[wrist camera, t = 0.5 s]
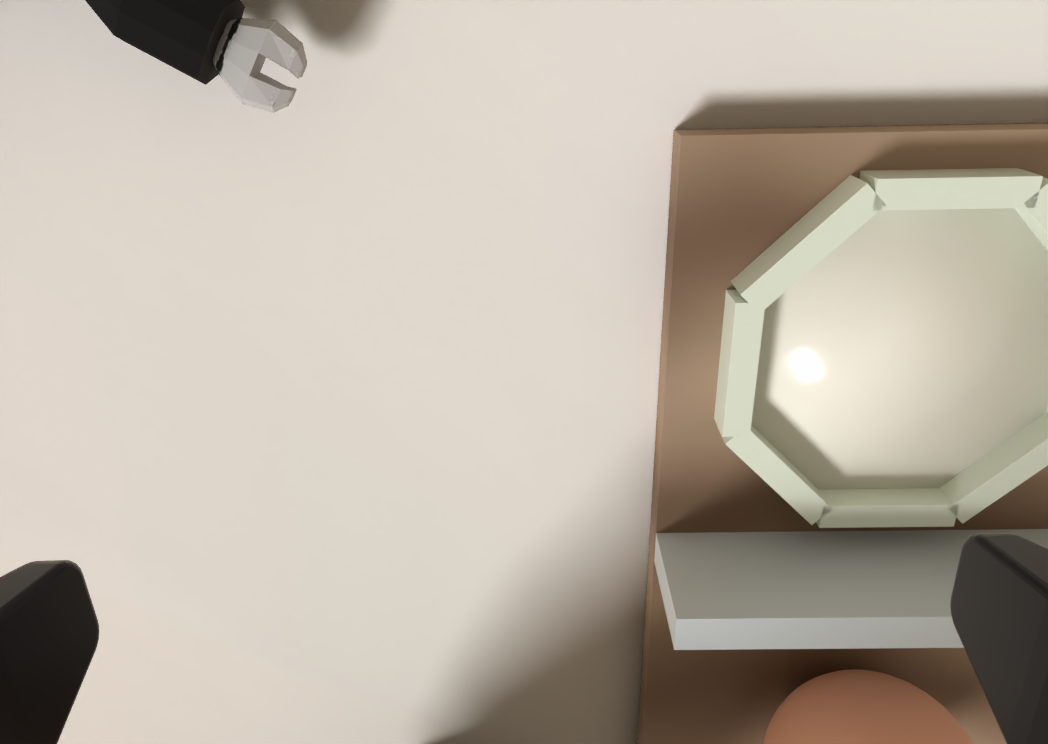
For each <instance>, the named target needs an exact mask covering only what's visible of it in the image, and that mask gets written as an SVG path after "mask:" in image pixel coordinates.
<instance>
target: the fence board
mask: <svg viewBox="0 0 1048 744" xmlns="http://www.w3.org/2000/svg"><path fill="white" fill-rule="evenodd" d="M982 168H1019V169H1023V170H1026V171H1029V172H1032V173H1035V174H1038V175H1041V176H1043V177H1044V178H1047V179H1048V123H1028V124H972V125H917V126H862V127H806V128H751V129H695V130H674V135H673V152H672V169H671V186H670V203H669V219H668V236H667V253H666V270H665V287H664V304H663V321H662V338H661V355H660V372H659V388H658V405H657V422H656V439H655V456H654V473H653V490H652V507H651V524H650V541H649V557H648V574H647V591H646V608H645V625H644V642H643V659H642V676H641V693H640V710H639V726H638V743H637V744H763V742H764V738H765V734H766V730H767V728H768V726H769V723H770V721H771V719H772V717H773V715H774V713H775V712H776V710H777V709H778V707H779V706H780V705H781V703H782V702H783V701H784V700H785V699H786V698H787V696H788V695H789V694H791V693H792V692H793V691H794V690H795V689H796V688H798V687H799V686H800V685H802V684H804V683H805V682H807V681H809V680H811V679H813V678H815V677H818V676H821V675H823V674H826V673H831V672H835V671H841V670H852V669H857V670H868V671H875V672H881V673H884V674H888V675H891V676H894V677H896V678H899V679H901V680H904V681H906V682H909V683H910V684H912V685H914V686H916V687H918V688H919V689H921V690H923V691H924V692H926V693H927V694H929V695H930V696H931V697H933V698H934V699H935V700H936V701H938V702H939V703H940V704H941V705H943V706H944V707H945V708H946V709H947V710H948V711H949V712H950V713H951V715H952V716H953V717H954V718H955V719H956V720H957V721H958V722H959V723H960V724H961V726H962V727H963V729H964V730H965V731H966V733H967V734H968V736H969V737H970V739H971V740H972V742H973V744H1007V743H1006V741H1005V739H1004V736H1003V734H1002V732H1001V730H1000V727H999V725H998V723H997V721H996V718H995V716H994V714H993V712H992V709H991V707H990V705H989V703H988V700H987V698H986V696H985V694H984V691H983V689H982V687H981V685H980V682H979V680H978V678H977V676H976V673H975V671H974V669H973V667H972V664H971V662H970V660H969V658H968V655H967V653H966V651H965V649H964V646H963V644H962V642H961V640H960V637H959V635H958V633H957V631H956V628H955V626H954V623H953V620H952V616H951V609H950V602H951V595H952V590H953V586H954V581H955V577H956V572H957V568H958V563H959V559H960V554H961V550H962V547H963V544H964V542H965V540H966V539H967V538H968V537H969V536H971V535H973V534H985V533H1012V534H1016V535H1019V536H1021V537H1023V538H1025V539H1027V540H1030V541H1032V542H1034V543H1036V544H1038V545H1040V546H1043V547H1045V548H1047V549H1048V466H1046V467H1045V468H1043V469H1042V470H1040V471H1039V472H1037V473H1036V474H1034V475H1033V476H1031V477H1030V478H1029V479H1027V480H1026V481H1024V482H1023V483H1021V484H1020V485H1018V486H1017V487H1015V488H1014V489H1013V490H1011V491H1010V492H1008V493H1007V494H1005V495H1004V496H1002V497H1001V498H999V499H998V500H996V501H995V502H994V503H992V504H991V505H989V506H988V507H986V508H985V509H983V510H982V511H980V512H979V513H977V514H976V515H975V516H973V517H972V518H970V519H969V520H967V521H966V522H964V523H963V524H962V523H961V522H960V520H959V519H958V518H957V517H956V520H955V524H954V527H858V528H819V527H818V525H817V523H816V522H815V523H814V524H813V525H811V524H810V523H809V522H808V521H807V520H806V519H804V518H803V517H802V516H801V515H800V514H799V513H798V512H797V511H796V510H795V509H794V508H793V507H792V506H791V505H790V504H788V503H787V502H786V501H785V500H784V499H783V498H782V497H781V496H780V495H779V494H778V493H777V492H776V491H775V490H774V489H772V488H771V487H770V486H769V485H768V484H767V483H766V482H765V481H764V480H763V479H762V478H761V477H760V476H759V475H758V474H756V473H755V472H754V471H753V470H752V469H751V468H750V467H749V466H748V465H747V464H746V463H745V462H744V461H743V460H742V459H740V458H739V457H738V456H737V455H736V454H735V453H734V452H733V451H732V450H731V449H730V448H729V447H728V446H727V445H726V444H725V443H724V441H723V438H722V436H721V434H720V432H719V429H718V427H717V424H716V422H715V419H714V413H715V402H716V392H717V381H718V370H719V359H720V349H721V338H722V327H723V317H724V306H725V295H726V290H737V289H736V288H735V287H734V285H733V284H732V283H731V280H733V279H734V278H735V277H736V276H737V275H738V274H739V273H740V272H742V271H743V270H744V269H745V268H746V267H747V266H748V265H749V264H751V263H752V262H753V261H754V260H755V259H756V258H757V257H758V256H760V255H761V254H762V253H763V252H764V251H765V250H766V249H767V248H769V247H770V246H771V245H772V244H773V243H774V242H775V241H776V240H778V239H779V238H780V237H781V236H782V235H783V234H784V233H785V232H787V231H788V230H789V229H790V228H791V227H792V226H793V225H794V224H796V223H797V222H798V221H799V220H800V219H801V218H802V217H804V216H805V215H806V214H807V213H808V212H809V211H810V210H811V209H813V208H814V207H815V206H816V205H817V204H818V203H819V202H820V201H822V200H823V199H824V198H825V197H826V196H827V195H828V194H829V193H831V192H832V191H833V190H834V189H835V188H836V187H837V186H838V185H840V184H841V183H842V182H843V181H844V180H845V179H846V178H847V177H849V176H850V175H852V176H854V177H856V178H858V179H859V177H860V171H866V170H924V169H982Z"/></svg>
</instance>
